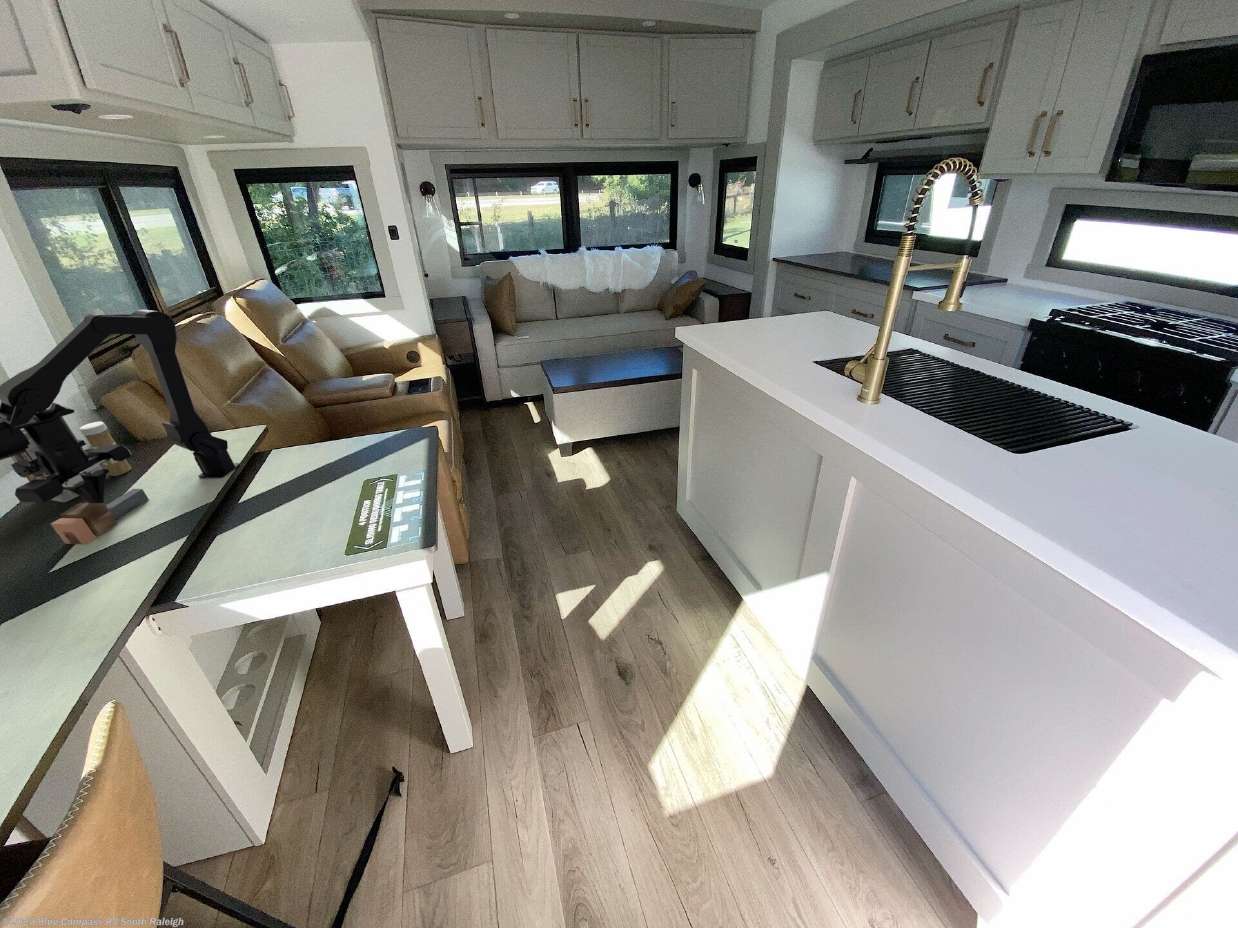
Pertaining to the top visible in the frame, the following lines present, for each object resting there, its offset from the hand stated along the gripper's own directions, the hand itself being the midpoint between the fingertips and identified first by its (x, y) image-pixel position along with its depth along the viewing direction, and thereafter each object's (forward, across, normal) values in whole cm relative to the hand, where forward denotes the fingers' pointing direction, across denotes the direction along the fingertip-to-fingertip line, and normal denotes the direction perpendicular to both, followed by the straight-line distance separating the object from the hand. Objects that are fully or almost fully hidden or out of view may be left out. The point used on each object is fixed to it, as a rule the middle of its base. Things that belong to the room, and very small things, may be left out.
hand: (99, 505), depth 110 cm
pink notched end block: (+4, +7, 0) cm, 8 cm away
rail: (+4, 0, 0) cm, 4 cm away
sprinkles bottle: (+4, -21, -19) cm, 28 cm away
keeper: (+4, +3, 0) cm, 5 cm away
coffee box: (+4, -11, -23) cm, 26 cm away
